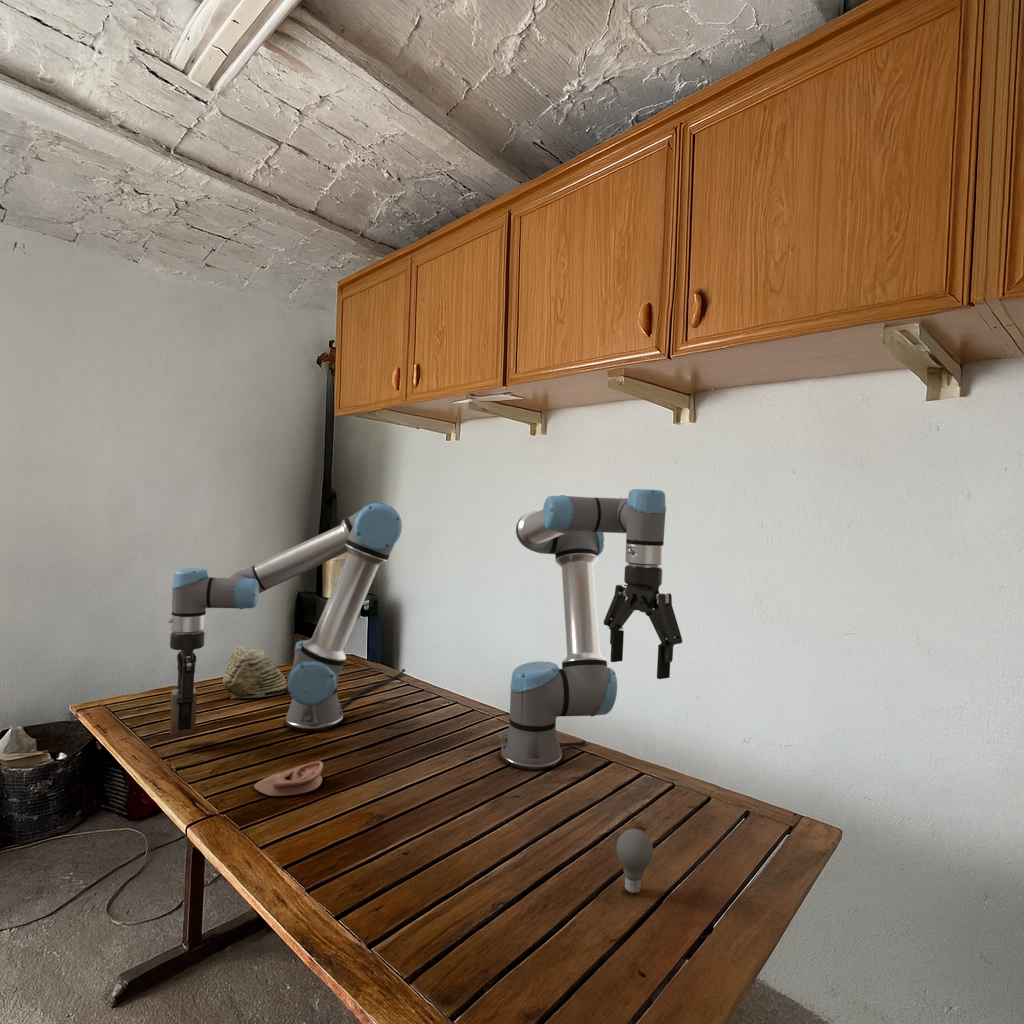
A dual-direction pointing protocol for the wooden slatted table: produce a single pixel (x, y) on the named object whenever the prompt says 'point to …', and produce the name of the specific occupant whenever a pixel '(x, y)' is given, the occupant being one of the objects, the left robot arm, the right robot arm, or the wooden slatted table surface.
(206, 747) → the wooden slatted table surface
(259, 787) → the anatomical model
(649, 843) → the light bulb
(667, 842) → the wooden slatted table surface
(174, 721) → the block
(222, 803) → the wooden slatted table surface
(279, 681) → the fossil
